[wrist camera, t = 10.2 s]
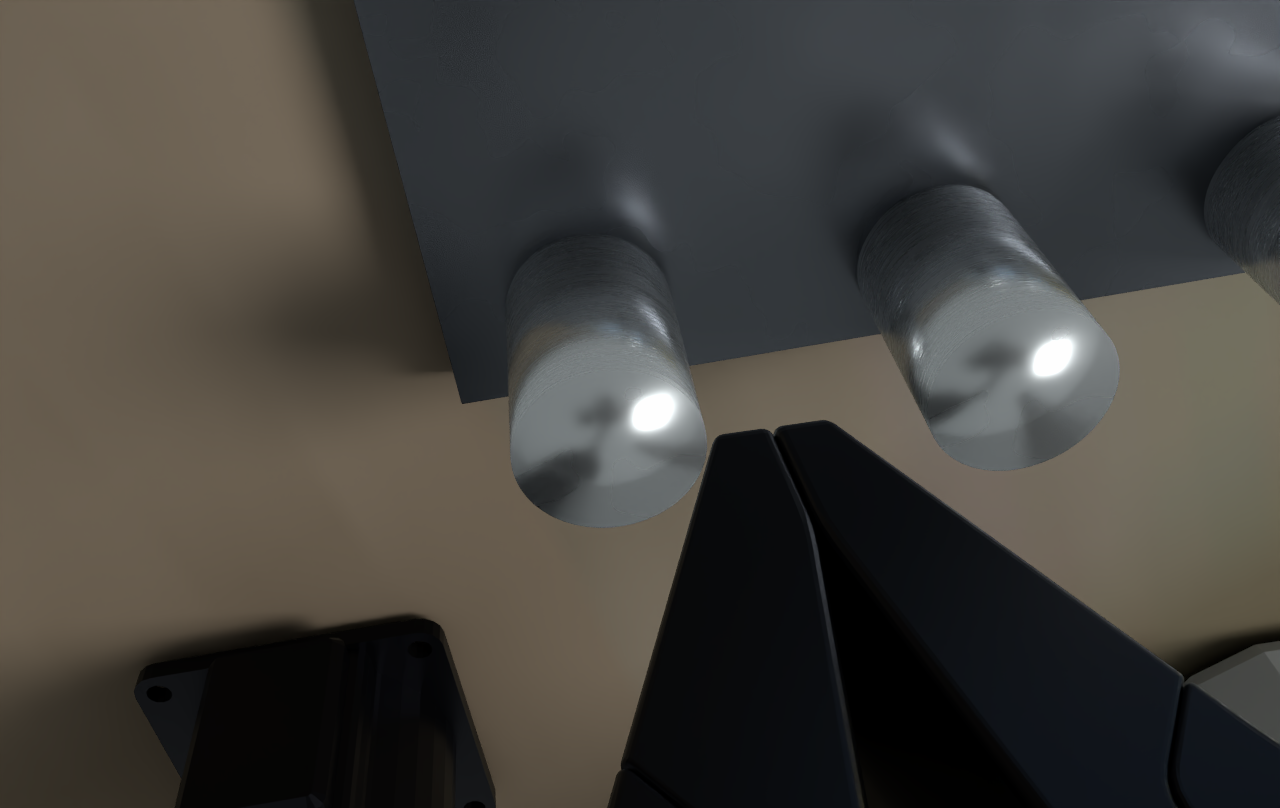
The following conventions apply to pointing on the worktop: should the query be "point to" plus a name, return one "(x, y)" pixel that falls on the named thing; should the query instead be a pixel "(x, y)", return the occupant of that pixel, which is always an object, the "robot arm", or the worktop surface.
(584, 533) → the worktop surface
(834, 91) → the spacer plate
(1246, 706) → the water bottle
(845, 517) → the robot arm
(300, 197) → the worktop surface
